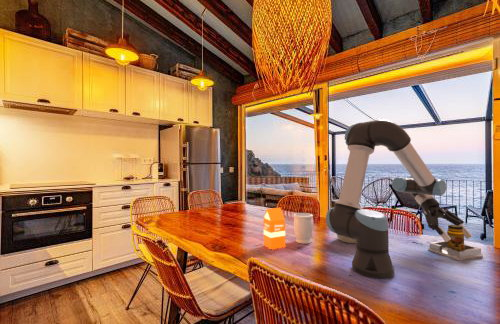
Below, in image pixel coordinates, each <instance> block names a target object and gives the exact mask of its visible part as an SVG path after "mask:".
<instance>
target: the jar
mask: <svg viewBox="0 0 500 324" xmlns="http://www.w3.org/2000/svg"><path fill="white" fill-rule="evenodd" d="M313 216H314V215H313V213H308V212H296V213H293V218H294V219H293V230H294V236H295V238H296V239H295V242H297V243H298V244H304V245H305V244H310V243H312V239H311V238H312V236H313V229H314V221H313Z"/></svg>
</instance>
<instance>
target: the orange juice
mask: <svg viewBox="0 0 500 324" xmlns="http://www.w3.org/2000/svg"><path fill="white" fill-rule="evenodd" d="M264 245H265V246H264ZM263 246H264V247H266V248H267V247H268V249H269V250H270V249H272V250H276V249H277V248H278V249H282V247H283V248H286V218H285V216H284V213H283V210H282V207H273V208H266V211H265V214H264V216H263ZM278 249H277V250H278Z"/></svg>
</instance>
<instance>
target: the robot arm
mask: <svg viewBox="0 0 500 324" xmlns="http://www.w3.org/2000/svg"><path fill="white" fill-rule="evenodd" d="M344 133H345V134H344V140H345V144H346V146H347V150H348V151H349V153H348V154H349V155H348V158H347V163H346V167H345V172H344V177H343V181H342V185H341V189H340V194H339V198H338V200H337V201H335V202H334V205H333V207H331V208H329V209H328V210H327V211H326V214H325V222H326V225H327V228H328V230H329V231H331V232H332V233H334V234H336V235H337V234H338V235H342V236H345V237H348V238H351V239H355V240H356V243H355V253H354V256H353V259H352V262H351V269H352V270H353V272H354V273H357V274H358V275H360V276H363V277H366V278H371V279H375V280H377V279H378V280H386V279H387V280H388V279H391V278H394V275H395V267H394V265H393V262H392V258H391V256H390V252H389V250H390V249H389V227H390V226H389V221H388V217H387V216H386V215H385V214H384V213H382V212H380V211H378V210H371V209H367V208H365V209H364V208H362V209H361V206H360V201H361V196H362V192H363V187H364V181H365V178H366V173H367V168H368V164H369V160H370V159H369V158H370V155H372V154H373V153H375V148H376V147H379V146H382V147H386V148H387V150H388V151H389V152H392V153H394V155H395V156H396V158H397V159H398V160H399V162H400V163H401V164H402V165H403V167H404V168H405V170H406V171H407V172H408V174H409V175H410V176H407V177H403V176H396V177H394V179H393V180H392V181H391V186H392V189H393V190H394V191H396V192H399V193H405V194H410V195H411V196H412V197H413V199H414V200H415V201H416V203H417V204H418V205H419V206H420V207H421V208H422V210H423V211H422V213H423V216H424V217H425V220H426V223H427V225H428V228H429V229H431V230H432V231H434V230H435V231H436V233H437V234H438V235H440V237H441V238H442V240H443V241H445V242H448V241H449V240H451V238H450V237H449V236H448V234H447V231H445V229H444V228H443V227H442V226H441V225H440V226H439V219H442V220H446V221H448V222H449V223H451V224H452V225H459V226H462V227H463V233H464V238H466V239H467V240H469V239H471V238H472V237H473V235H472V233H470V232H469V230H468V228H466V227H465V226H464V223H465V221H464V220H463V219H462V218H460V217H458V216H457V215H455V214H454V213H453V212H451V211H450V210H449V209H448V208H447V207H443V208H441V207H440V202H439V201H437V199H436V198H435V197H434V196H443V195H445V193H446V191H447V183H446V182H445V180H443V179H438V178H436V177H435V176H434V175H433V174H432V171H430V169H429V168H428V166H427V165H426V163H425V161H423V159H422V157H421V156H420V155H419V153H418V152H417V150H416V149H415V147H414V146H413V144H412V143H411V141H412V139H411V137H410V135H409V134H408V133H407V132H406V130H405V129H403V128H402V126H400V125H398V124H397V123H395V122H393V121H391V120H388V119H383V118H382V119H381V118H380V119H374V120H370V121H369V120H368V121H365V122H357V123H354V124H351V125H350V126H349V127H348V128H347V129H346V131H345V132H344Z"/></svg>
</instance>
